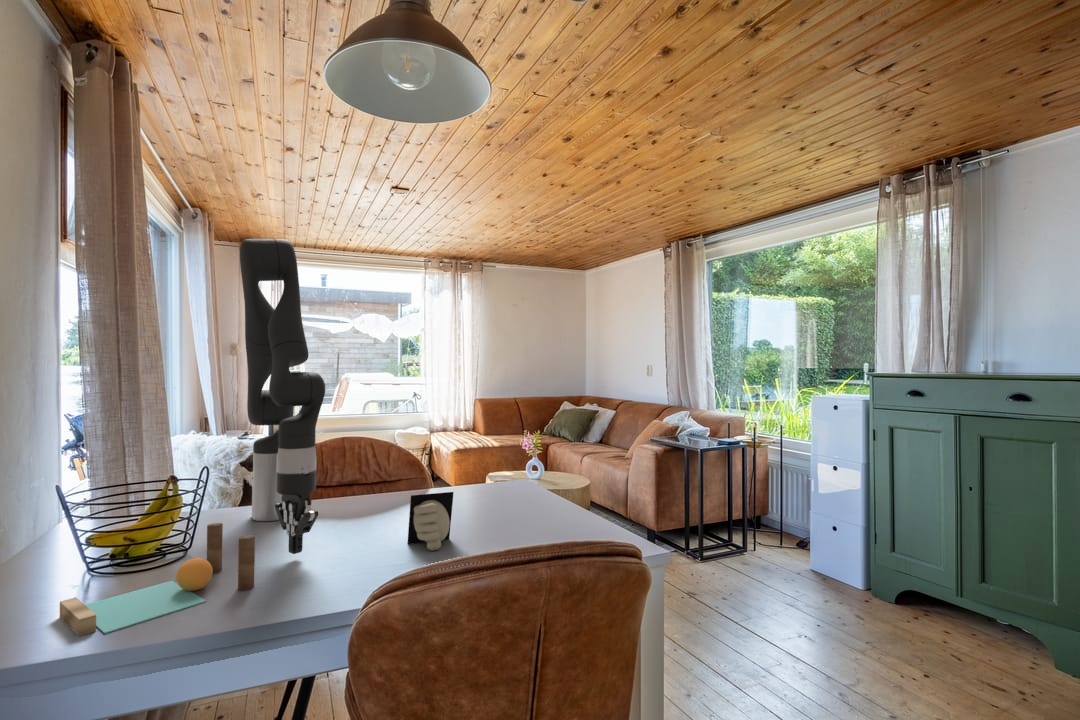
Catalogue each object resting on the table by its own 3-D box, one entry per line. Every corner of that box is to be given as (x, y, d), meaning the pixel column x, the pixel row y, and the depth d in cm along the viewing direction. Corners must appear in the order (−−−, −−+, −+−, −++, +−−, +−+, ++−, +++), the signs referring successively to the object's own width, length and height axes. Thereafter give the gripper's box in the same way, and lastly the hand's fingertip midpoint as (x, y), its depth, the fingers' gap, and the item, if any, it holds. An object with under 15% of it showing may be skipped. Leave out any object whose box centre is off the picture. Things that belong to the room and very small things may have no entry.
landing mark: (75, 608, 90) (75, 607, 90) (172, 581, 102) (172, 580, 102) (104, 634, 82) (104, 632, 82) (205, 601, 94) (205, 600, 94)
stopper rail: (59, 617, 87) (59, 601, 87) (75, 612, 89) (75, 597, 89) (79, 636, 81) (79, 619, 81) (96, 631, 83) (96, 614, 83)
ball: (195, 586, 101) (164, 584, 97) (208, 556, 103) (179, 552, 99) (209, 596, 98) (179, 593, 94) (223, 564, 100) (194, 560, 96)
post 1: (204, 571, 107) (204, 525, 107) (218, 567, 109) (218, 522, 109) (210, 574, 105) (210, 527, 105) (224, 570, 107) (225, 524, 107)
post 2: (235, 588, 99) (235, 538, 99) (249, 583, 101) (250, 534, 101) (242, 591, 98) (242, 541, 98) (256, 587, 100) (257, 537, 100)
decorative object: (456, 557, 122) (413, 563, 118) (446, 532, 131) (405, 537, 127) (461, 508, 119) (416, 512, 115) (450, 486, 128) (408, 489, 124)
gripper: (262, 467, 115) (261, 550, 115) (296, 475, 107) (295, 565, 107) (296, 462, 121) (295, 541, 121) (331, 469, 113) (330, 554, 113)
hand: (295, 552), depth 114 cm, fingers closed
